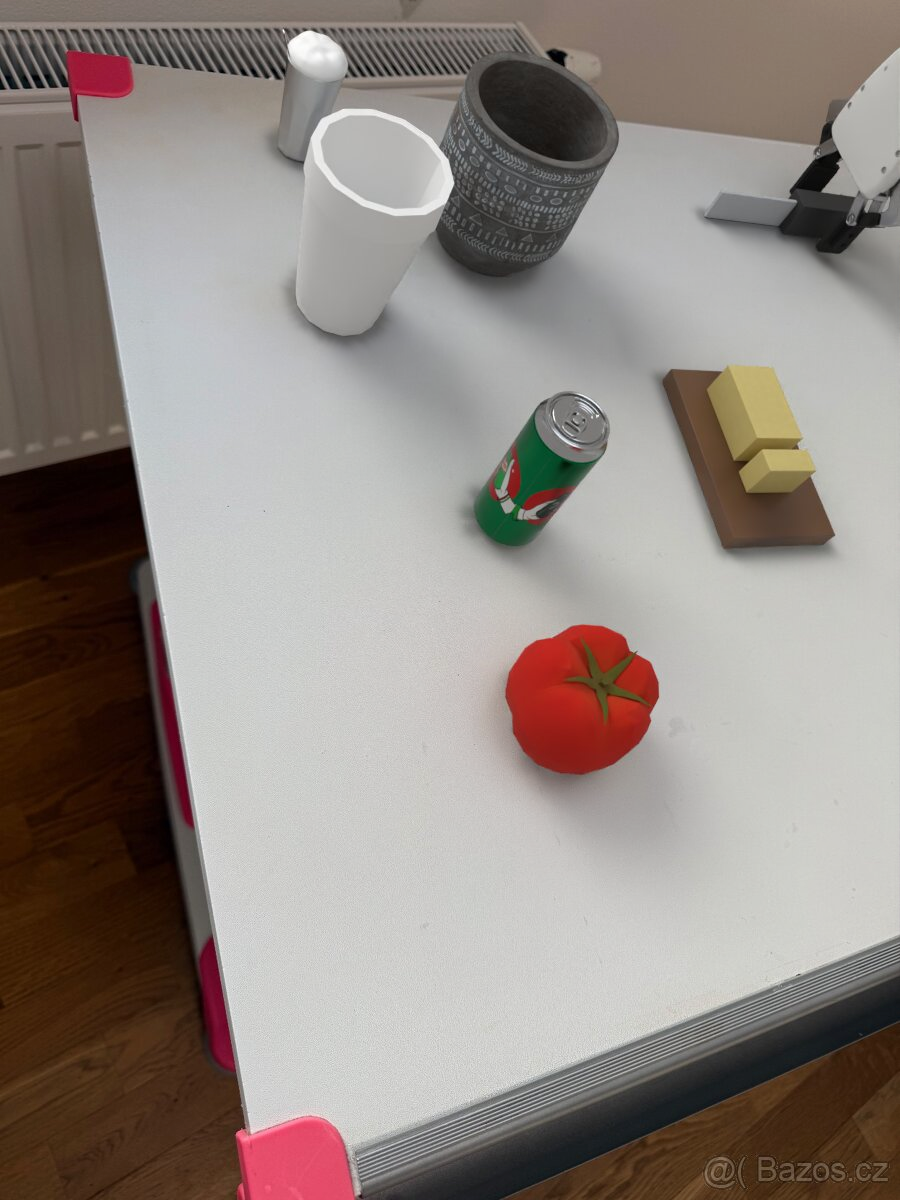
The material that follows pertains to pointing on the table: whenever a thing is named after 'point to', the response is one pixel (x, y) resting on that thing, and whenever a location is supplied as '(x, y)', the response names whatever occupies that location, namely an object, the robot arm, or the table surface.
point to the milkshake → (308, 89)
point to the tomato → (580, 699)
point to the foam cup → (364, 214)
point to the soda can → (542, 468)
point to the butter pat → (777, 471)
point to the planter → (521, 161)
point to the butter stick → (753, 411)
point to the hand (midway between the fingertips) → (815, 221)
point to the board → (718, 474)
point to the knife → (783, 210)
